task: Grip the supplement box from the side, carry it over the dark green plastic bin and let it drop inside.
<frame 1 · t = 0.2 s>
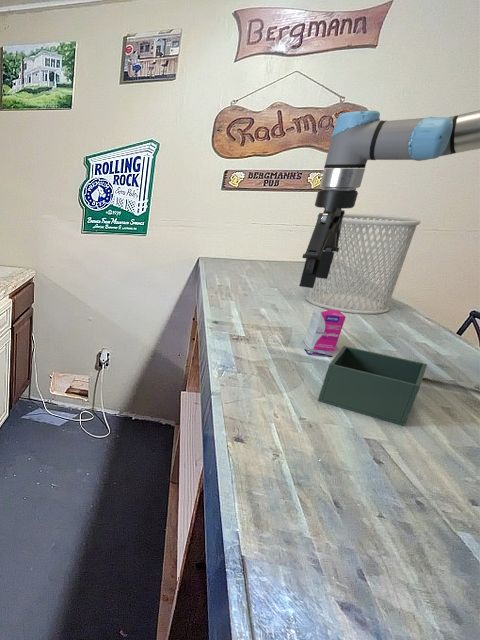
hand: (313, 282, 111), 20 cm above the bar counter, tool pointing down, fingers open, 13 cm apart
supplement box: (316, 353, 122), on the bar counter
bin: (365, 400, 98), on the bar counter
wastebasket: (345, 304, 164), on the bar counter
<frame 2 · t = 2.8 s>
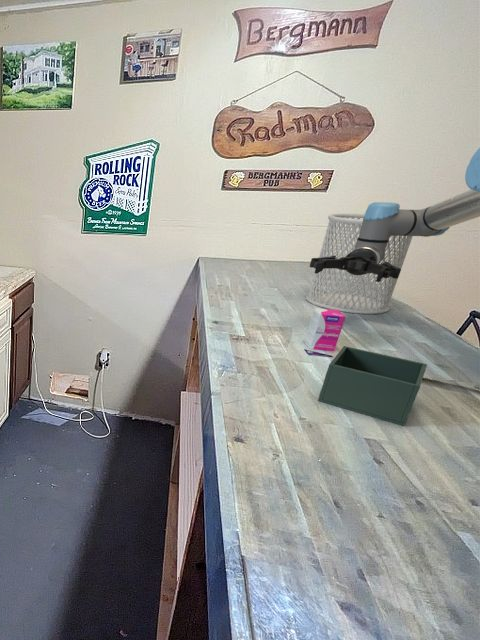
hand: (347, 272, 120), 20 cm above the bar counter, tool horizontal, fingers open, 13 cm apart
nothing on the bar counter moved.
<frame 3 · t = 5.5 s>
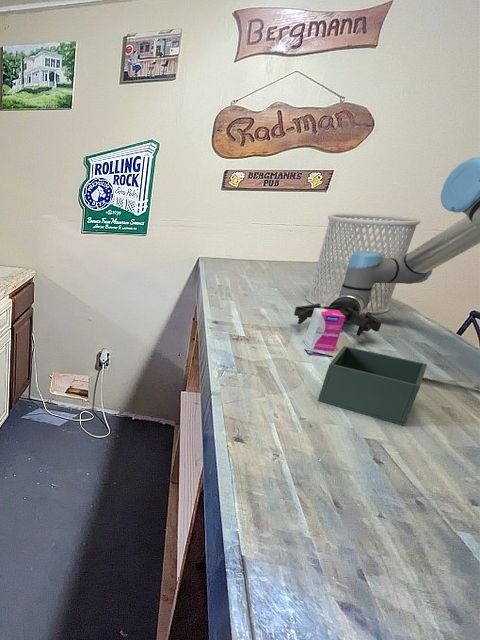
hand: (328, 324, 124), 6 cm above the bar counter, tool horizontal, fingers open, 13 cm apart
nothing on the bar counter moved.
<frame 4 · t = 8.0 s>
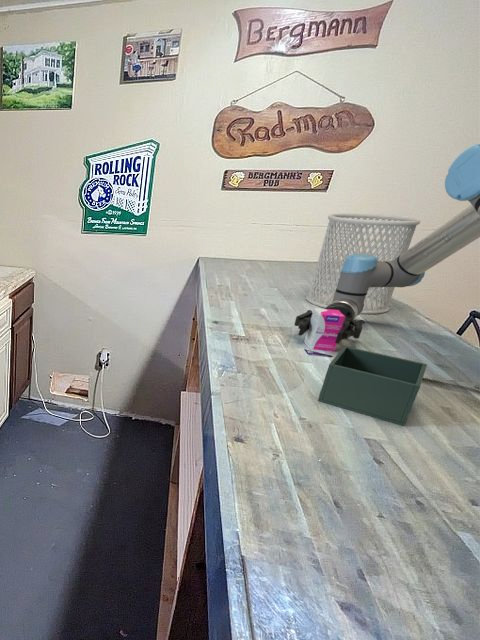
hand: (319, 334, 117), 7 cm above the bar counter, tool horizontal, fingers closed on supplement box, 7 cm apart
supplement box: (316, 353, 122), on the bar counter, touching gripper
everything else where it was.
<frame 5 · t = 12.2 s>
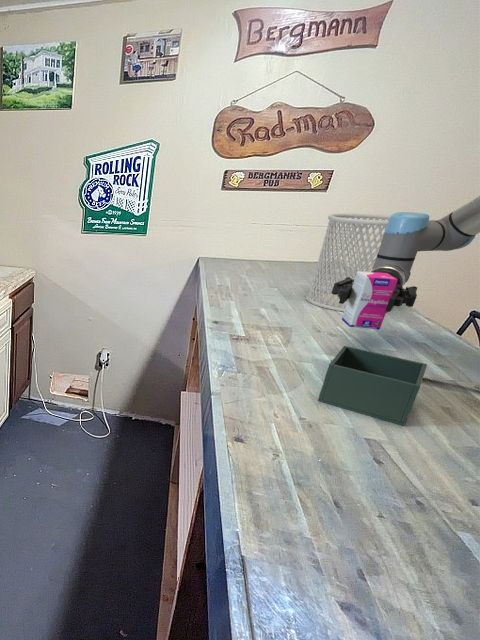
hand: (365, 301, 97), 20 cm above the bar counter, tool horizontal, fingers closed on supplement box, 7 cm apart
supplement box: (360, 325, 103), point 13 cm above the bar counter, touching gripper
everything else where it was.
when the fingers open (11 cm above the bar counter, at t = 16.3 s): supplement box drops 4 cm, resting on bin.
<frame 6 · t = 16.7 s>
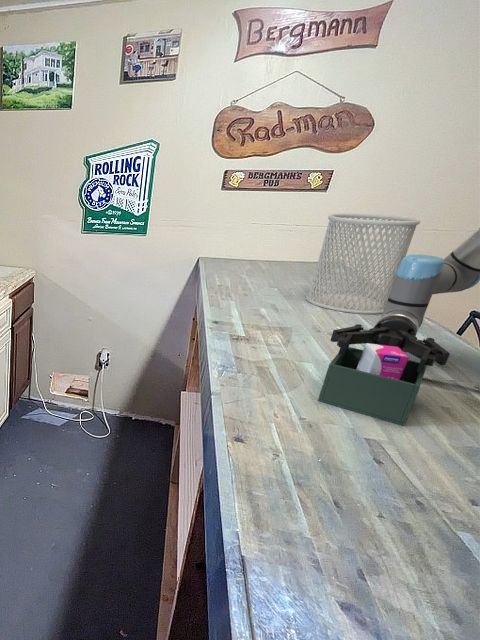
hand: (380, 356, 91), 11 cm above the bar counter, tool horizontal, fingers open, 12 cm apart
supplement box: (367, 399, 97), resting on bin
everything else where it was.
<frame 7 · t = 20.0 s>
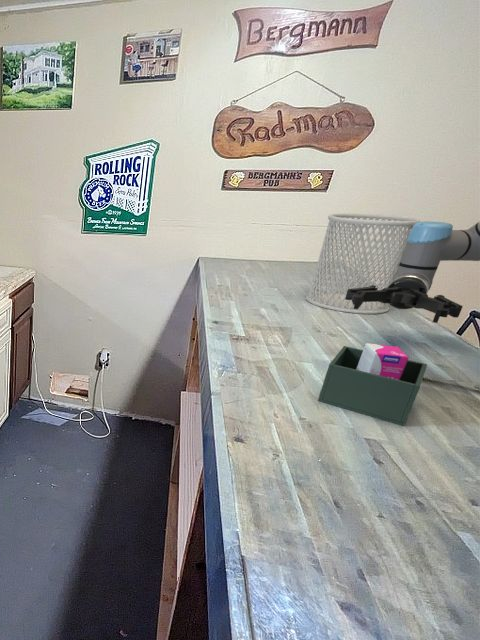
hand: (395, 309, 99), 18 cm above the bar counter, tool horizontal, fingers open, 13 cm apart
nothing on the bar counter moved.
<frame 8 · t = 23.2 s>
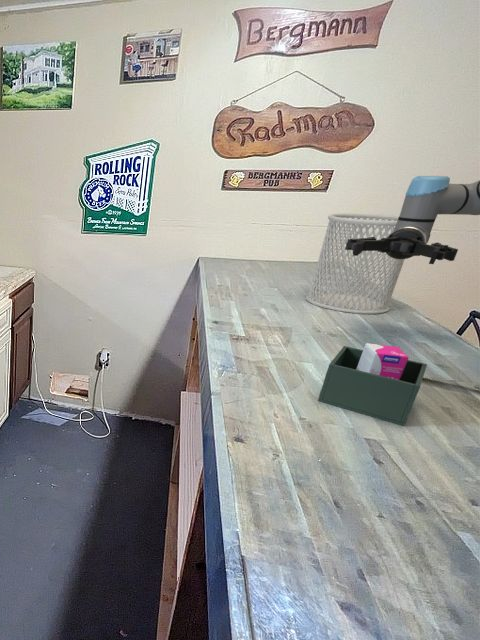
hand: (393, 253, 103), 28 cm above the bar counter, tool horizontal, fingers open, 13 cm apart
nothing on the bar counter moved.
at the end: supplement box inside the target area in the bin (0.4 cm from its centre), point 0.4 cm above the bin's base; the gripper is holding nothing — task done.
